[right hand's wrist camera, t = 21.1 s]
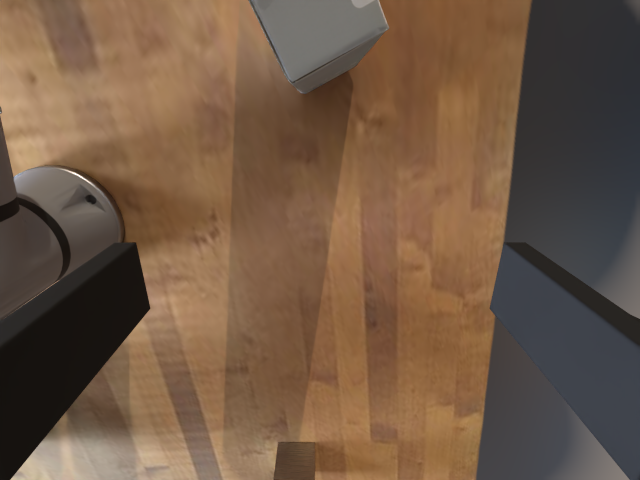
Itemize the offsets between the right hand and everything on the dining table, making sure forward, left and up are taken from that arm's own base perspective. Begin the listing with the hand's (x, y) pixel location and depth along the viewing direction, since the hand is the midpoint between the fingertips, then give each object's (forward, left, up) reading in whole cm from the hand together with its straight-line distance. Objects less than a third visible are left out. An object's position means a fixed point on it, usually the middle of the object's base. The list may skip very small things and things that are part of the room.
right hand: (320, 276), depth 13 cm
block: (+8, -57, -35) cm, 67 cm away
